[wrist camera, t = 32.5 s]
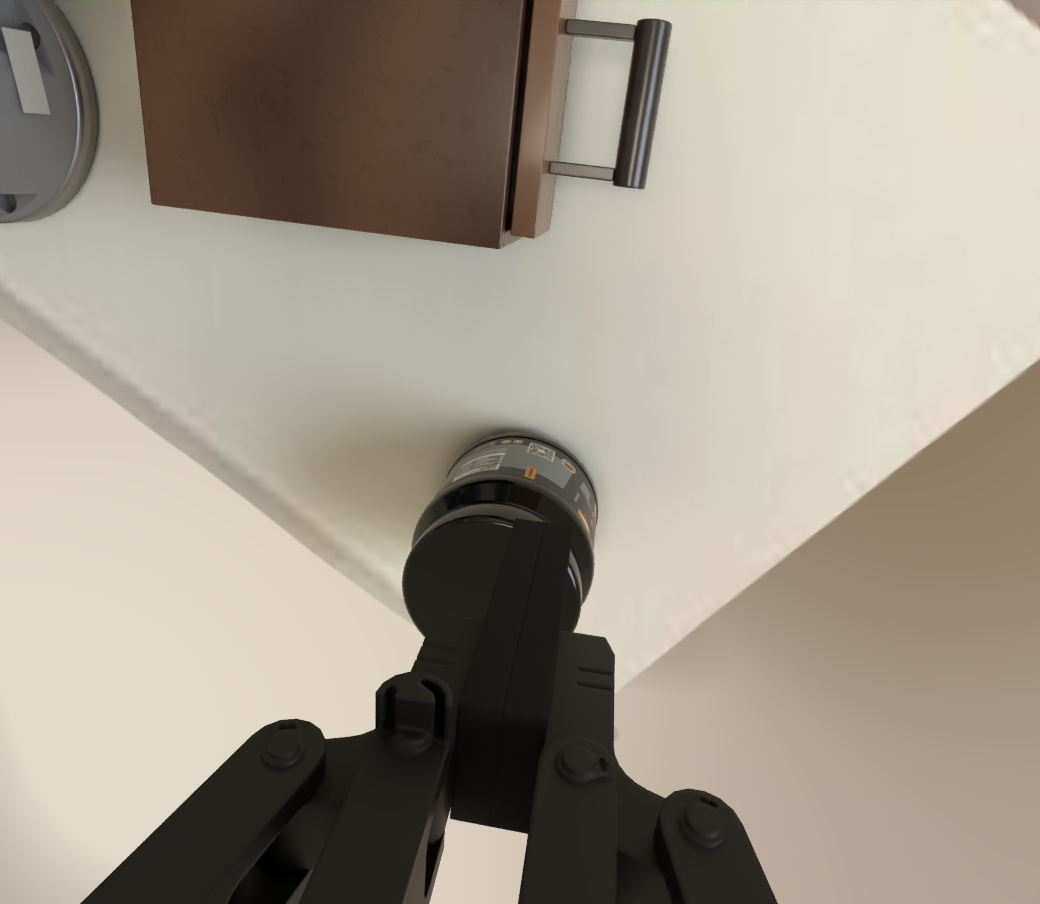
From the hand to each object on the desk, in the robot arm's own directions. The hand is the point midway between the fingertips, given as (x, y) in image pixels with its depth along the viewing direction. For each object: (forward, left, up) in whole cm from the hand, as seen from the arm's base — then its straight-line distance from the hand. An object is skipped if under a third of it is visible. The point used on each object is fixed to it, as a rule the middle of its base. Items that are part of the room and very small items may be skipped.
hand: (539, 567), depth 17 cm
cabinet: (-17, +7, -26) cm, 32 cm away
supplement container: (+1, -11, -26) cm, 28 cm away
